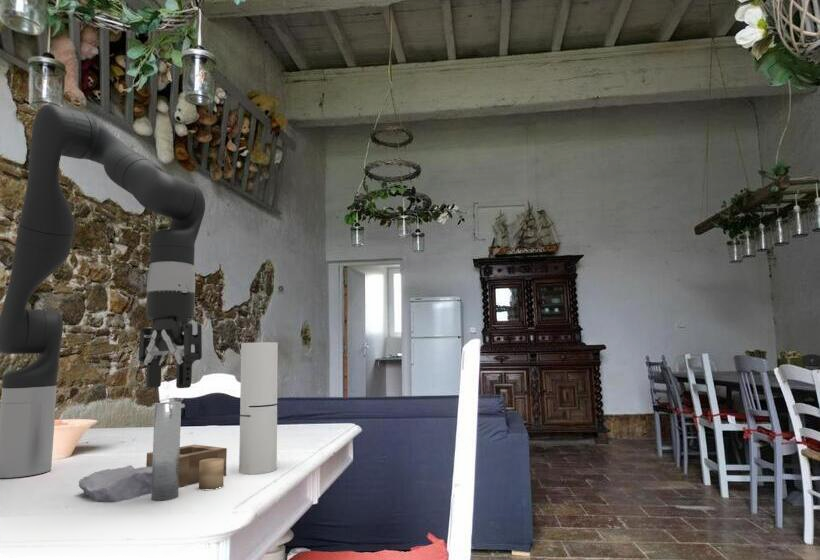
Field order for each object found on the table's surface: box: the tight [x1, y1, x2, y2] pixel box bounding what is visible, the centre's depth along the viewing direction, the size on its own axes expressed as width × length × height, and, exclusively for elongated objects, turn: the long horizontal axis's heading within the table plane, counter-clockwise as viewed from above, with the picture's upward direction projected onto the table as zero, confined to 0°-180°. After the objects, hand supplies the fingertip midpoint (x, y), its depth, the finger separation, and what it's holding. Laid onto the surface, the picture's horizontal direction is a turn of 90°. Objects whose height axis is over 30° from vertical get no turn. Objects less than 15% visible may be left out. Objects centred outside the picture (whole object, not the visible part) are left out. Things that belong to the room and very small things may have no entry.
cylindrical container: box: [238, 341, 279, 475], centre depth 106 cm, size 7×7×25 cm
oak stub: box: [198, 458, 225, 490], centre depth 92 cm, size 4×4×4 cm
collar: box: [145, 444, 228, 488], centre depth 99 cm, size 10×10×5 cm
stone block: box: [78, 464, 152, 503], centre depth 90 cm, size 12×5×10 cm
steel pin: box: [150, 401, 182, 502], centre depth 87 cm, size 4×4×15 cm
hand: (168, 387), depth 88 cm, fingers open, 8 cm apart
